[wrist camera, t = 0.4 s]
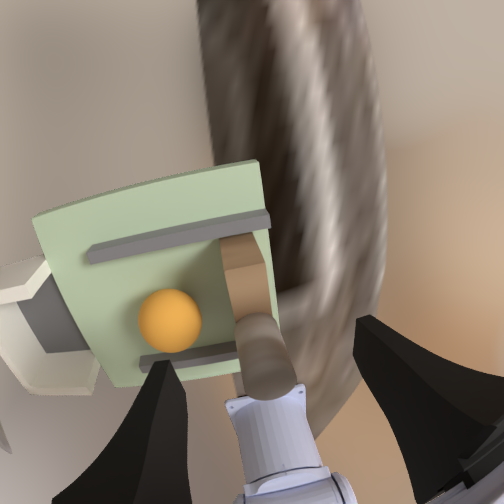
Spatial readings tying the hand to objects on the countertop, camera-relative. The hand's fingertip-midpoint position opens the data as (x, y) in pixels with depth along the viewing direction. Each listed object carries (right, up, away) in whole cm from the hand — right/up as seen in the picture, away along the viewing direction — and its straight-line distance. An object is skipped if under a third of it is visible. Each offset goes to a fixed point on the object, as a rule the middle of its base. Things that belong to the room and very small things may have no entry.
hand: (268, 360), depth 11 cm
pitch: (-10, 0, +9) cm, 14 cm away
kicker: (-1, +2, +9) cm, 9 cm away
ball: (-6, 0, +7) cm, 9 cm away
